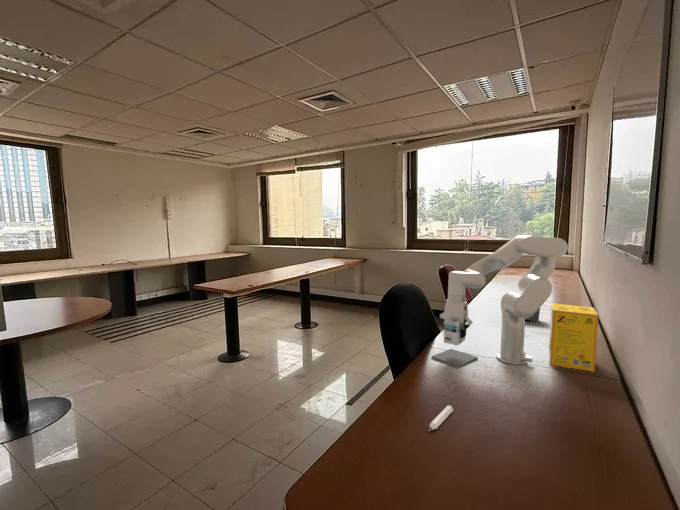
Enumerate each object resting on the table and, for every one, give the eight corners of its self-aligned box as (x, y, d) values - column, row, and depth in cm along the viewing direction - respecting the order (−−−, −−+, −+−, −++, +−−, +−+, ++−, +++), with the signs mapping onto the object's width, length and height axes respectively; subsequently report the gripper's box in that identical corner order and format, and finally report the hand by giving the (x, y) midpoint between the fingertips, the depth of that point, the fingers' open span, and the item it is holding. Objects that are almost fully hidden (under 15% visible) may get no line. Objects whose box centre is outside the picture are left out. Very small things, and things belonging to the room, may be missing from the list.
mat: (477, 359, 158) (477, 357, 158) (458, 368, 148) (458, 365, 148) (451, 350, 169) (451, 348, 169) (431, 358, 159) (431, 356, 159)
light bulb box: (457, 346, 151) (458, 322, 151) (443, 342, 156) (444, 319, 155) (465, 340, 160) (466, 317, 159) (451, 337, 164) (452, 315, 163)
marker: (428, 436, 101) (448, 412, 114) (434, 435, 100) (454, 411, 112) (424, 427, 102) (445, 405, 114) (430, 426, 101) (450, 403, 113)
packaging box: (548, 353, 166) (551, 303, 164) (589, 360, 157) (593, 307, 155) (549, 364, 152) (552, 310, 150) (594, 373, 143) (598, 315, 141)
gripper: (478, 300, 151) (476, 338, 153) (444, 293, 165) (443, 329, 167) (469, 302, 147) (467, 342, 148) (435, 295, 160) (434, 332, 162)
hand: (454, 335), depth 157 cm, fingers closed on light bulb box, 7 cm apart
